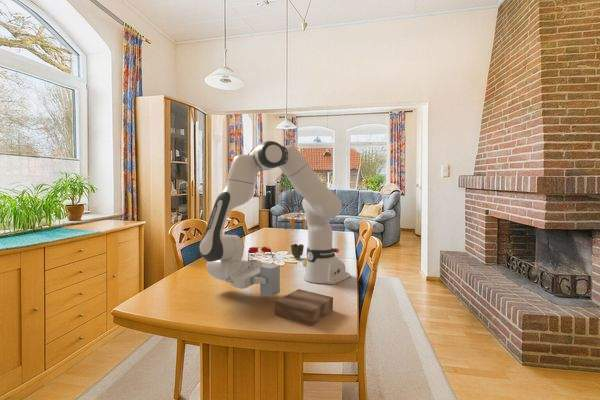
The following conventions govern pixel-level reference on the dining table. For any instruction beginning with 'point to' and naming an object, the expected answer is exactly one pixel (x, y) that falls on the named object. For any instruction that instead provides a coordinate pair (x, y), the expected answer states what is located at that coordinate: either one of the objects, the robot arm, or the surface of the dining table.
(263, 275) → the slate block
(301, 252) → the dark brown tapered lump
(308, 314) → the walnut block
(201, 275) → the dining table surface
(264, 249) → the glasses
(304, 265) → the bread roll
